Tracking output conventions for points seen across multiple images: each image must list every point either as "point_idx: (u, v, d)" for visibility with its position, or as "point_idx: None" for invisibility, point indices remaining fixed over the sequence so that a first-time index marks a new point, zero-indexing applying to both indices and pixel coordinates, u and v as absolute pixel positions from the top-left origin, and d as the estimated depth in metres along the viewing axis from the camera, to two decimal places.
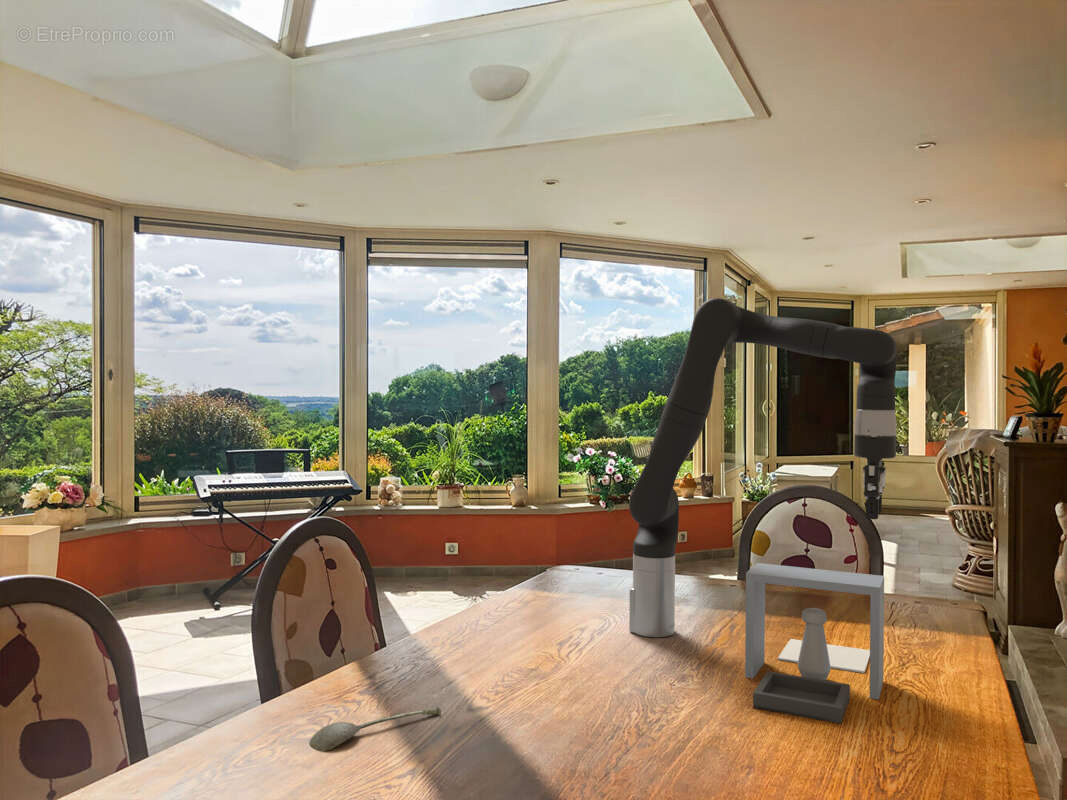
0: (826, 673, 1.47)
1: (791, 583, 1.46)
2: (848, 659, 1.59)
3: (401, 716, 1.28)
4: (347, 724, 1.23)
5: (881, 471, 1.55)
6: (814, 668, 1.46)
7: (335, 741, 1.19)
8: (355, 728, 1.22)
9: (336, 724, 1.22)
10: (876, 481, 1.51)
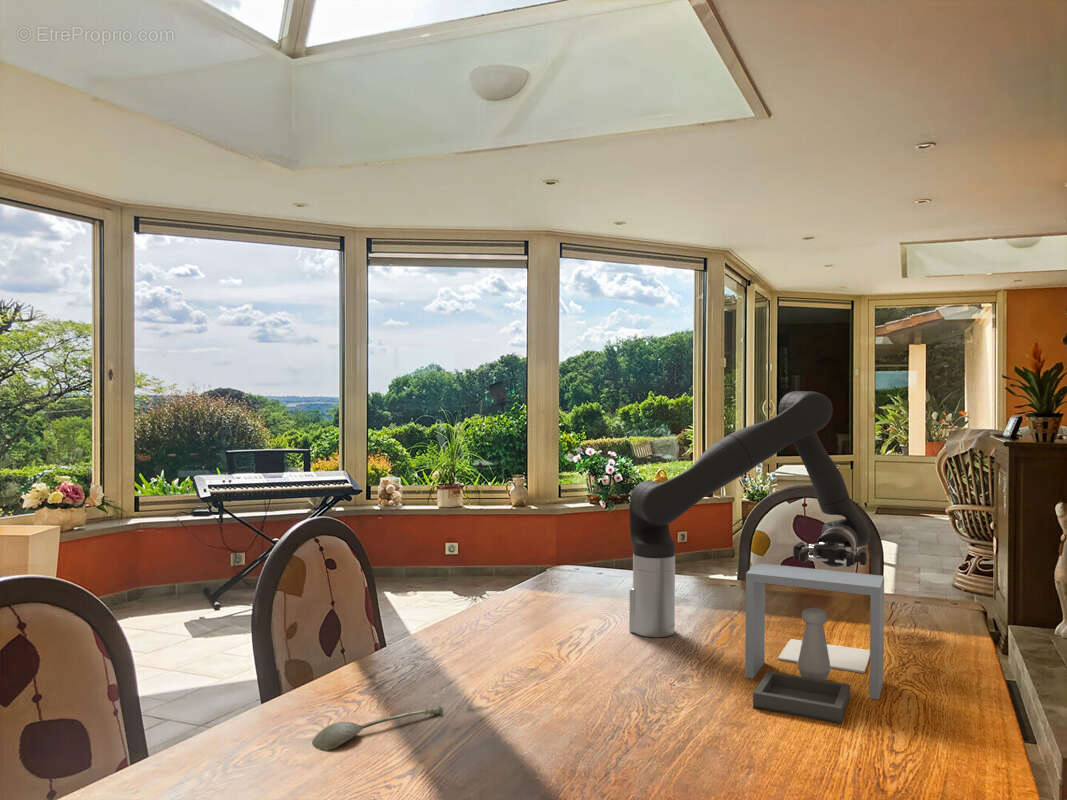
0: (826, 673, 1.47)
1: (791, 583, 1.46)
2: (848, 659, 1.59)
3: (403, 716, 1.28)
4: (350, 724, 1.23)
5: None
6: (814, 668, 1.46)
7: (337, 740, 1.19)
8: (358, 728, 1.23)
9: (339, 724, 1.23)
10: (866, 560, 1.65)
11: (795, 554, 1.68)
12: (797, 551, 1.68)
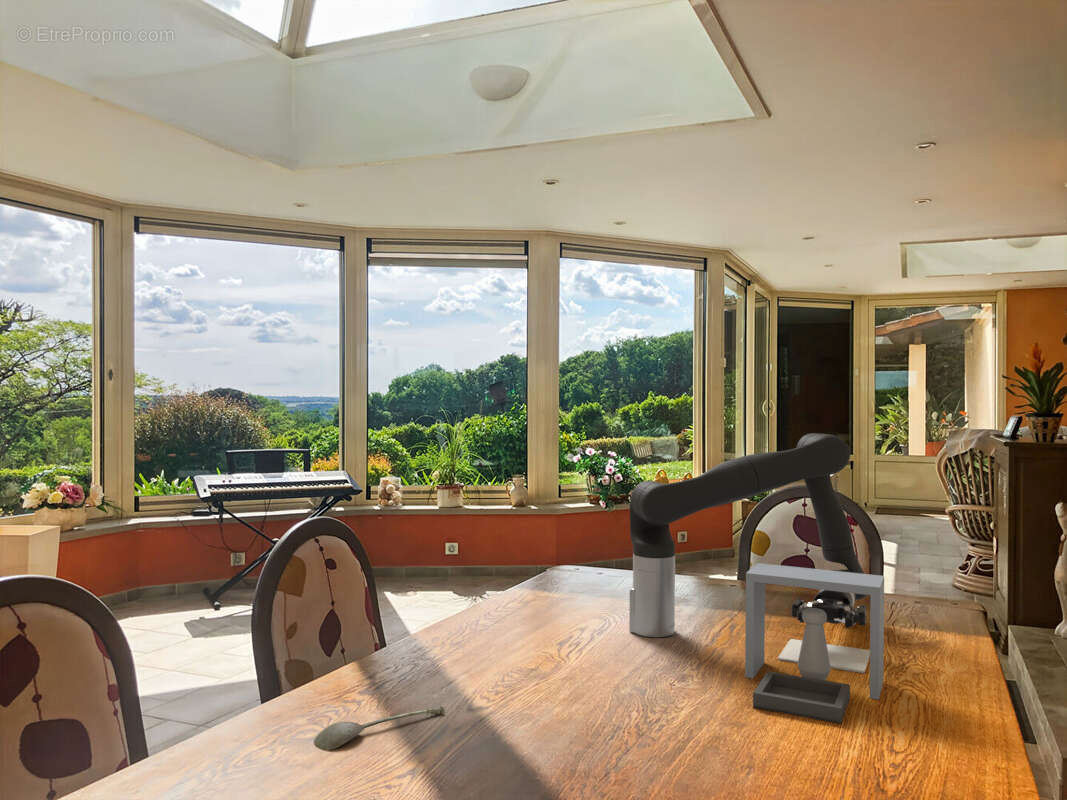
0: (826, 673, 1.47)
1: (791, 583, 1.46)
2: (848, 659, 1.59)
3: (405, 715, 1.28)
4: (351, 723, 1.23)
5: None
6: (814, 668, 1.46)
7: (339, 740, 1.19)
8: (359, 727, 1.23)
9: (340, 723, 1.23)
10: (865, 619, 1.62)
11: (793, 612, 1.66)
12: (795, 609, 1.66)
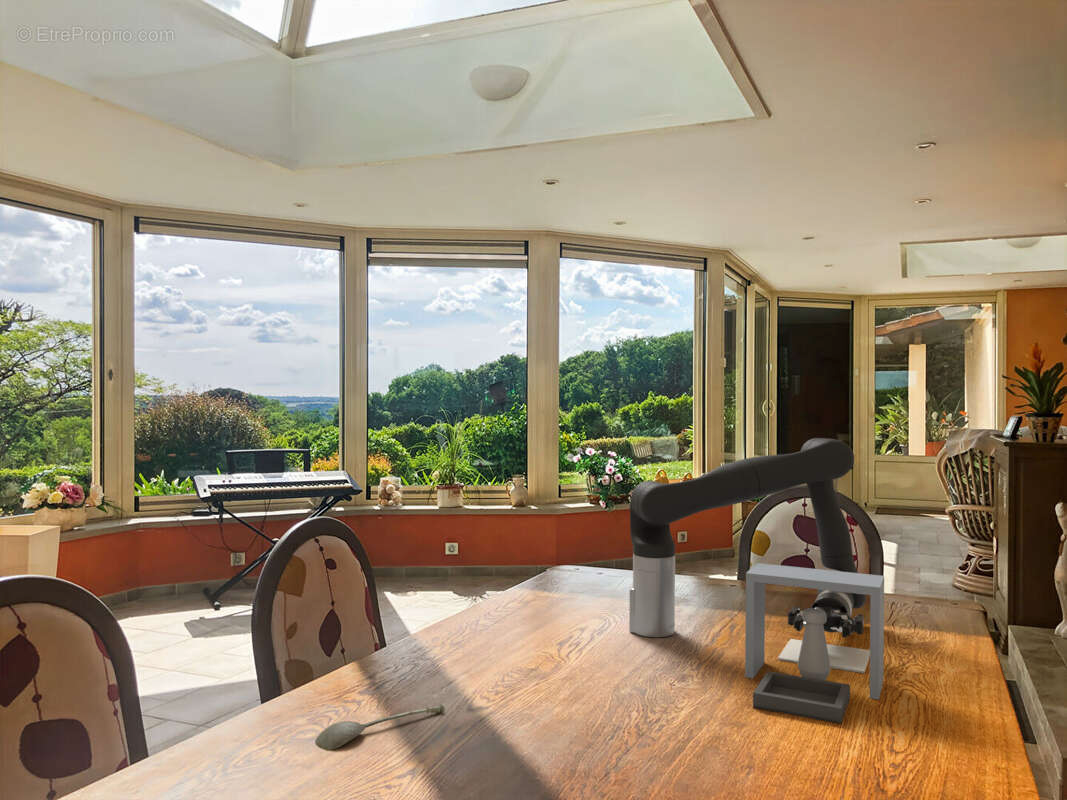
0: (826, 673, 1.47)
1: (791, 583, 1.46)
2: (848, 659, 1.59)
3: (405, 714, 1.29)
4: (352, 723, 1.23)
5: None
6: (814, 668, 1.46)
7: (341, 739, 1.19)
8: (361, 727, 1.23)
9: (341, 723, 1.23)
10: None
11: (790, 620, 1.64)
12: (792, 617, 1.63)
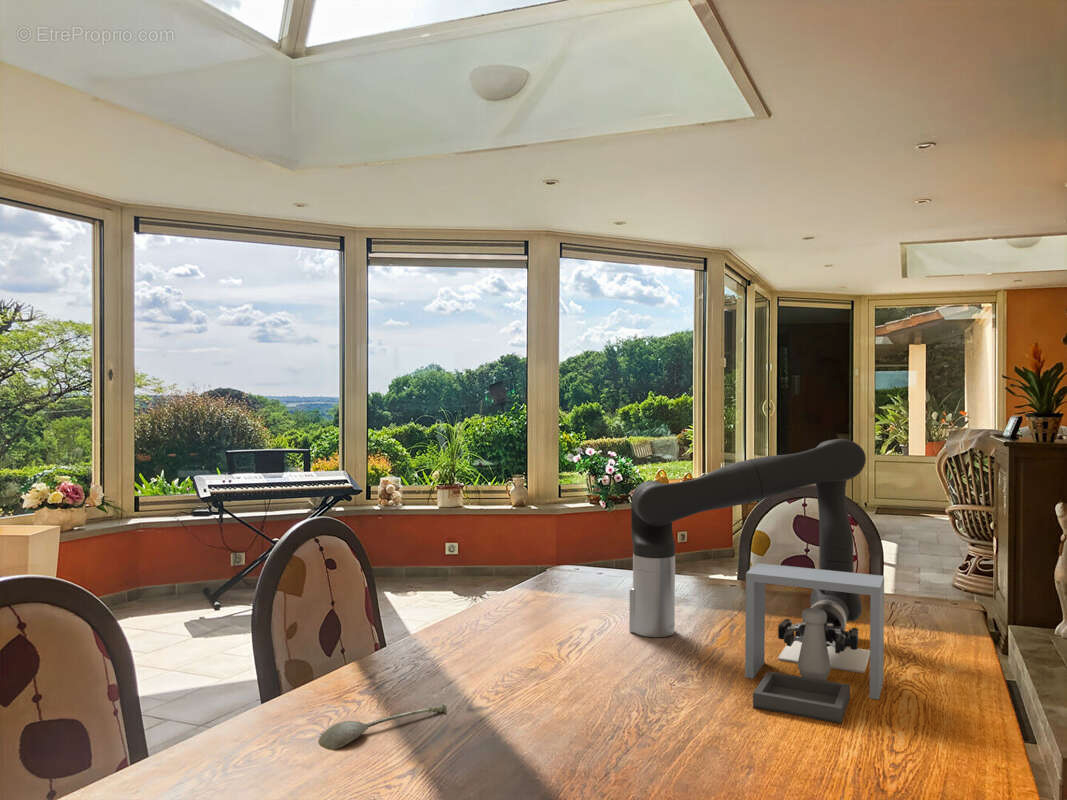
0: (826, 673, 1.47)
1: (791, 583, 1.46)
2: (848, 659, 1.59)
3: (408, 714, 1.29)
4: (355, 722, 1.23)
5: None
6: (814, 668, 1.46)
7: (344, 739, 1.20)
8: (364, 726, 1.23)
9: (345, 723, 1.23)
10: (857, 643, 1.51)
11: (780, 634, 1.54)
12: (782, 631, 1.54)
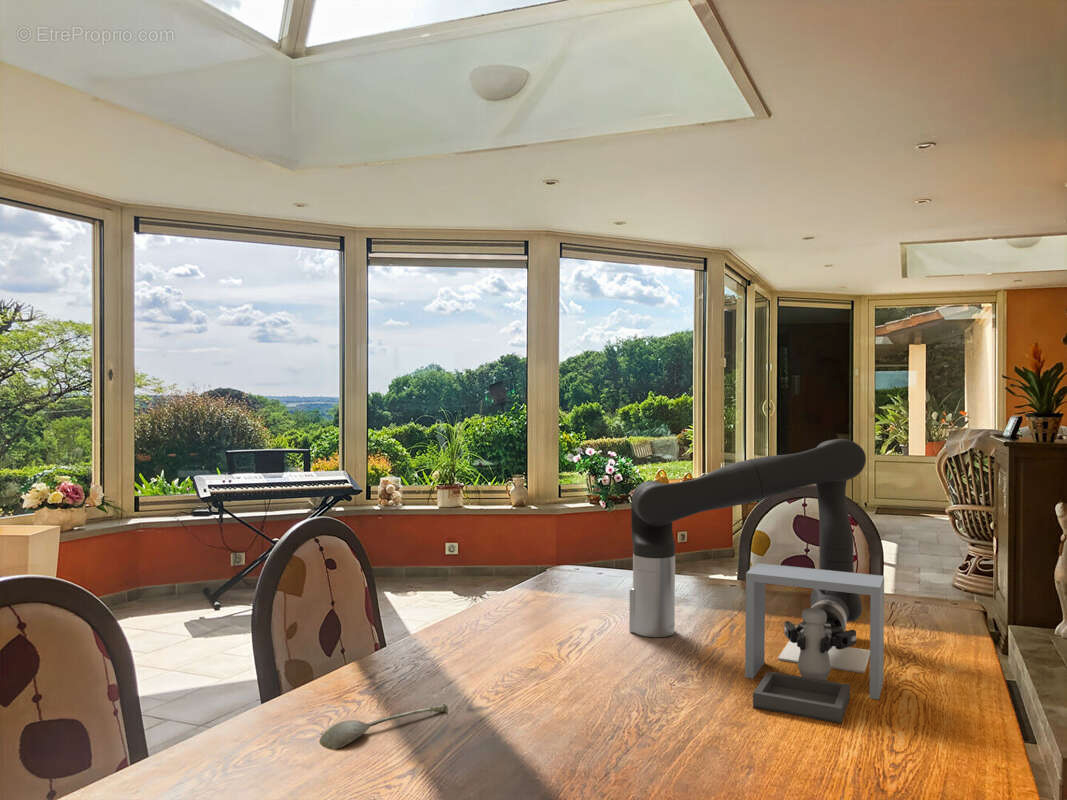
0: (826, 673, 1.47)
1: (791, 583, 1.46)
2: (848, 659, 1.59)
3: (409, 714, 1.29)
4: (357, 722, 1.23)
5: None
6: (814, 668, 1.46)
7: (346, 739, 1.20)
8: (365, 726, 1.23)
9: (346, 722, 1.23)
10: (848, 644, 1.50)
11: (794, 638, 1.52)
12: (795, 635, 1.52)
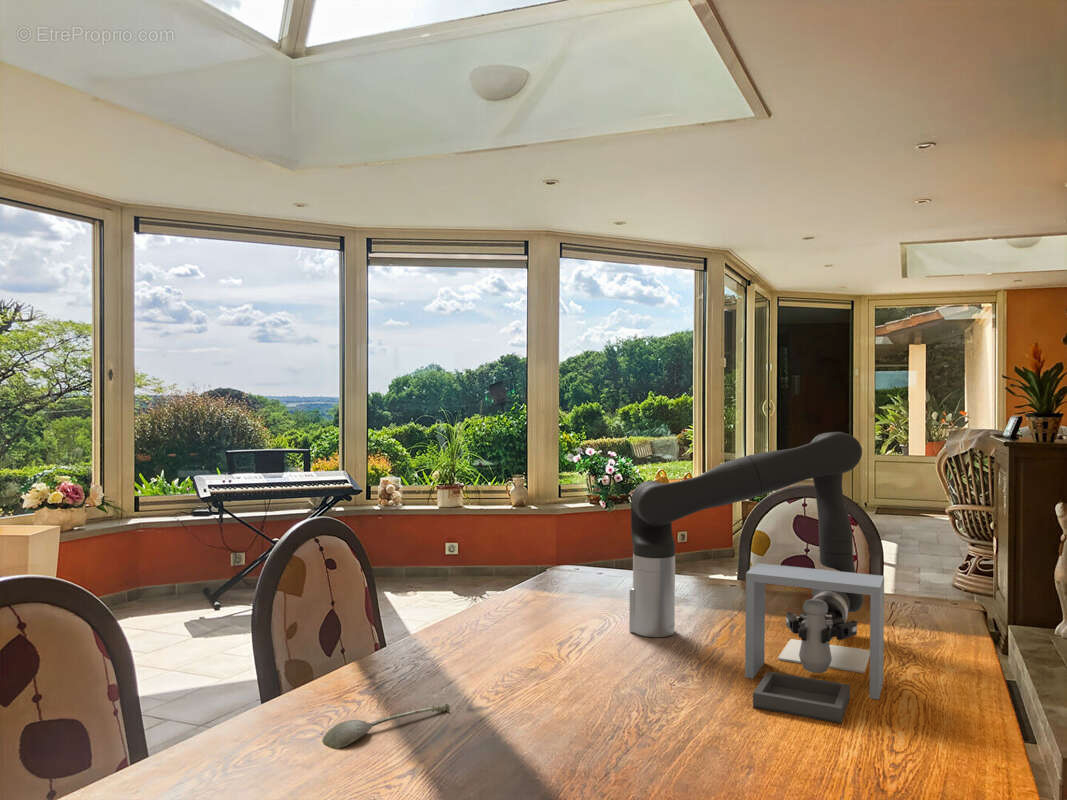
0: (827, 663, 1.49)
1: (791, 583, 1.46)
2: (848, 659, 1.59)
3: (411, 713, 1.29)
4: (359, 722, 1.24)
5: None
6: (815, 658, 1.48)
7: (348, 738, 1.20)
8: (368, 725, 1.23)
9: (349, 722, 1.23)
10: (849, 635, 1.52)
11: (796, 629, 1.54)
12: (796, 625, 1.54)
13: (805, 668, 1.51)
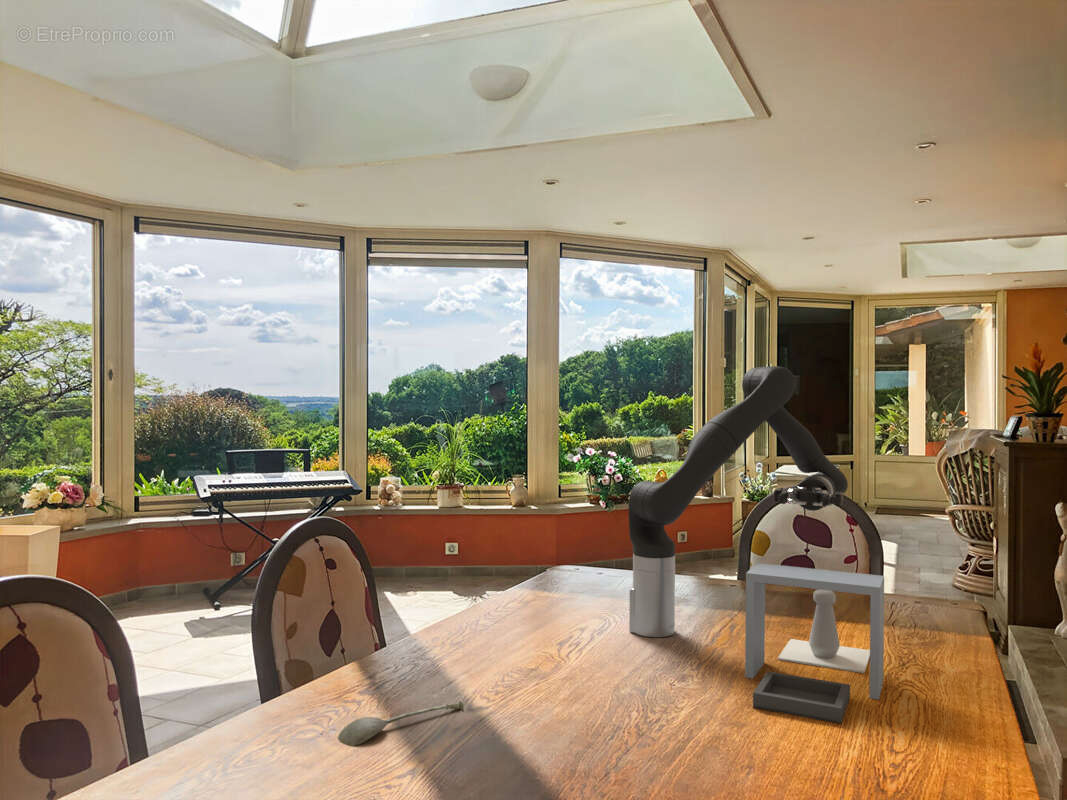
0: (835, 649, 1.59)
1: (791, 583, 1.46)
2: (848, 659, 1.59)
3: (426, 711, 1.30)
4: (375, 719, 1.25)
5: None
6: (824, 644, 1.59)
7: (364, 735, 1.21)
8: (383, 723, 1.24)
9: (364, 719, 1.24)
10: (841, 502, 1.76)
11: (775, 497, 1.80)
12: (777, 494, 1.80)
13: (815, 654, 1.61)
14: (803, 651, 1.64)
